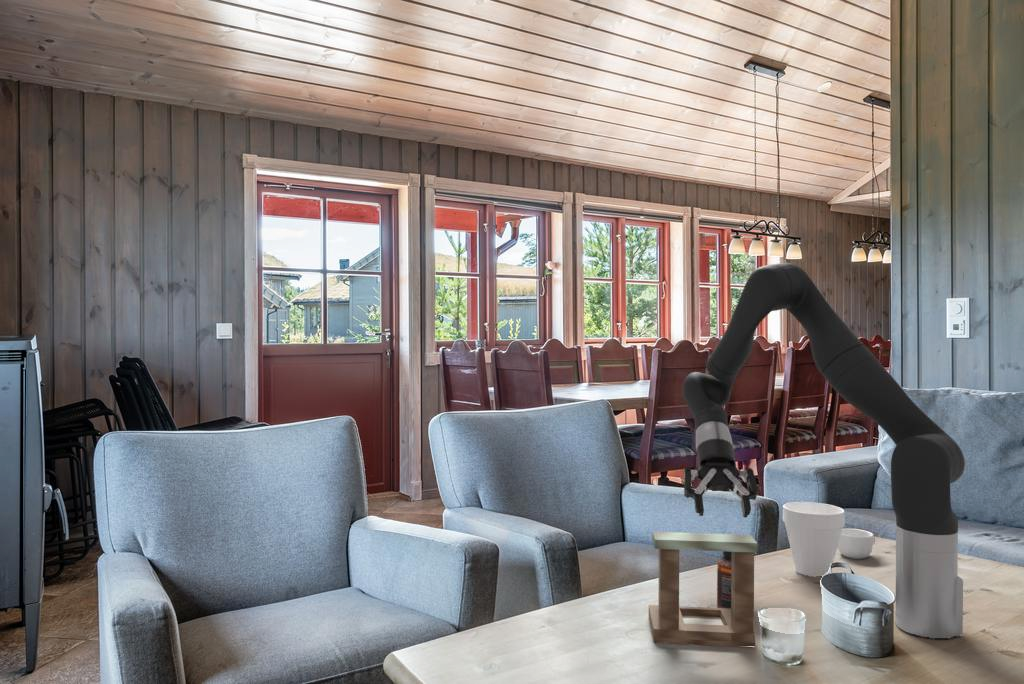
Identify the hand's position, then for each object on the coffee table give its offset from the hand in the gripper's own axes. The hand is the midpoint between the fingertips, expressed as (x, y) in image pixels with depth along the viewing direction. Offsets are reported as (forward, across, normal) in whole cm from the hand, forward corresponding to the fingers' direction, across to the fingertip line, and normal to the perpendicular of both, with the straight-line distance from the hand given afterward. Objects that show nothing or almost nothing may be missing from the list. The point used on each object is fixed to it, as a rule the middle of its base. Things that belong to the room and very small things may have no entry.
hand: (723, 514), depth 145 cm
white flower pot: (+1, +21, +20) cm, 29 cm away
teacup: (-9, +35, +30) cm, 47 cm away
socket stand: (+26, -8, -6) cm, 28 cm away
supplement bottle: (+18, 0, +3) cm, 19 cm away
